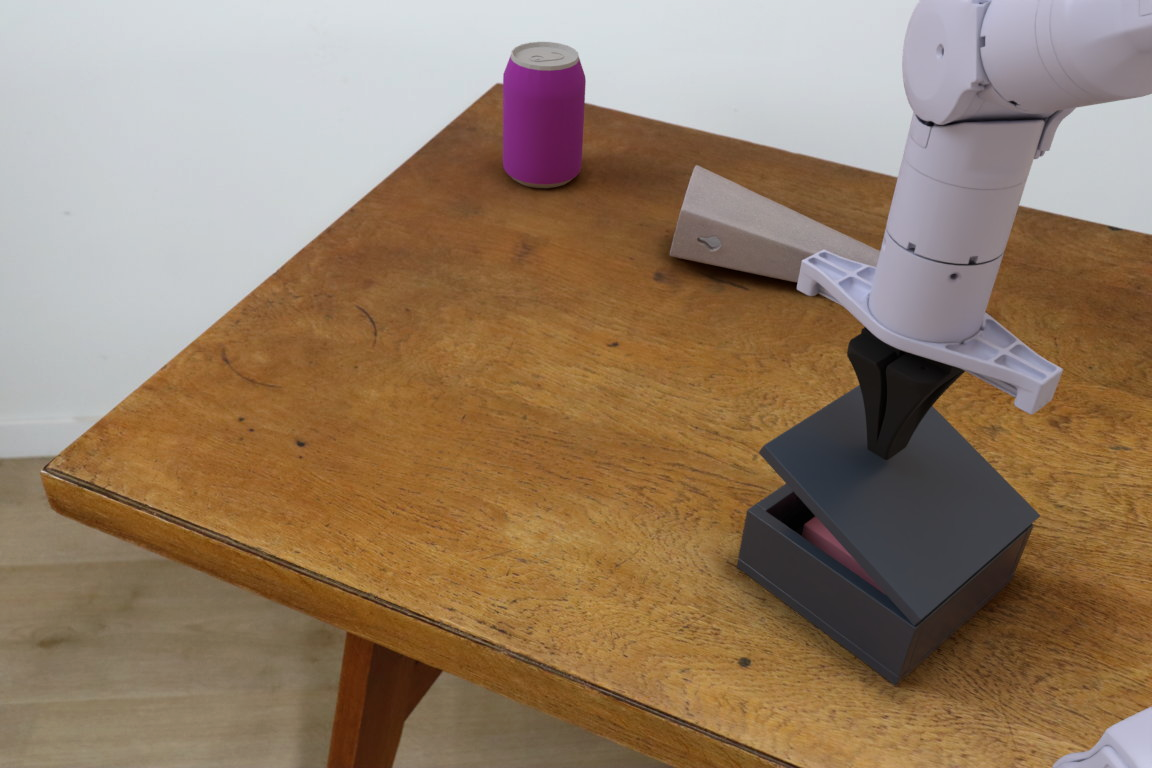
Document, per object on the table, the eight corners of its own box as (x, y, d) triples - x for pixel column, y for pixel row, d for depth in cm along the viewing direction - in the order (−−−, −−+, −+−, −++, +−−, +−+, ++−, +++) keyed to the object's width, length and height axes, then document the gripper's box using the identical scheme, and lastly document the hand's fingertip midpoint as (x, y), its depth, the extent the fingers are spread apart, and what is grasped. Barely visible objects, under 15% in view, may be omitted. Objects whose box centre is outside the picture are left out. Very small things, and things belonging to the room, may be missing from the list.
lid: (757, 452, 62) (763, 444, 61) (885, 371, 68) (891, 364, 68) (913, 626, 58) (921, 619, 57) (1032, 522, 64) (1041, 515, 64)
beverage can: (524, 198, 104) (526, 74, 97) (489, 164, 109) (488, 45, 102) (595, 182, 107) (602, 62, 100) (558, 151, 112) (562, 34, 105)
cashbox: (736, 567, 67) (746, 509, 64) (855, 482, 74) (870, 426, 71) (895, 687, 61) (915, 628, 58) (1011, 581, 67) (1034, 524, 64)
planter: (996, 227, 94) (701, 149, 96) (1003, 276, 87) (684, 191, 89) (962, 303, 99) (681, 227, 101) (966, 355, 92) (664, 272, 94)
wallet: (957, 583, 66) (965, 559, 65) (908, 625, 63) (916, 601, 62) (847, 511, 70) (853, 487, 69) (798, 547, 68) (803, 523, 66)
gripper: (1124, 270, 52) (1039, 483, 61) (871, 161, 61) (827, 362, 69) (1049, 322, 48) (969, 543, 57) (790, 198, 57) (753, 406, 65)
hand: (886, 447), depth 63 cm, fingers closed
